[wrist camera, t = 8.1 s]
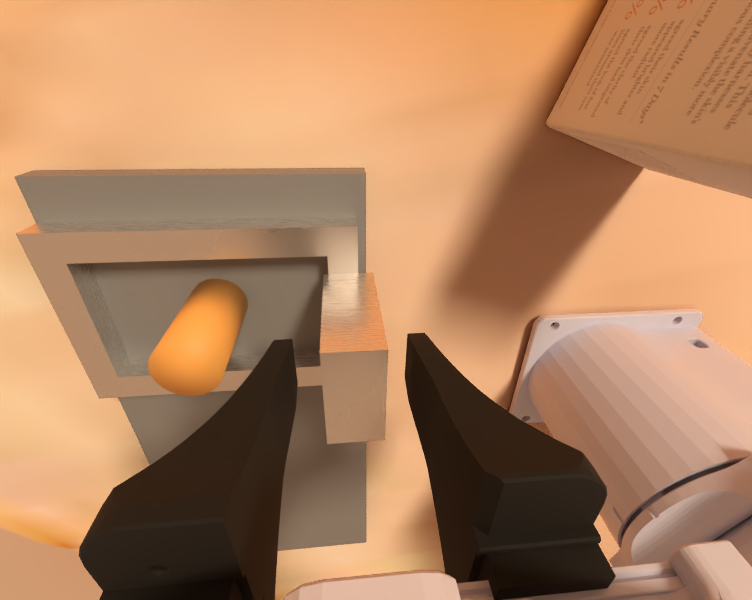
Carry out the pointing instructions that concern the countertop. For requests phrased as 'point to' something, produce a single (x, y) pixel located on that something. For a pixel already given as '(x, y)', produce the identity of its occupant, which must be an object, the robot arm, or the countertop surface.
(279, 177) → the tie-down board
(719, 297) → the countertop surface
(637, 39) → the small box
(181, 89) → the countertop surface
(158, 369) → the post
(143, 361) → the beige open rectangular frame
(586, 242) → the countertop surface
